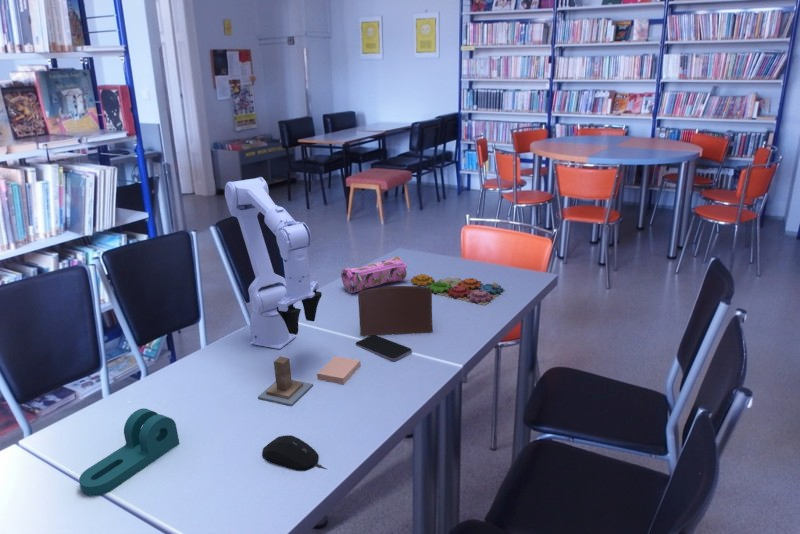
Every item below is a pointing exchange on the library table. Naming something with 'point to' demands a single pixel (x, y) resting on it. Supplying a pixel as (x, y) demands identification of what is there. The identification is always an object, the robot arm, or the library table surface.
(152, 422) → the bracket
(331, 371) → the tile
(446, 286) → the gear puzzle
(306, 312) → the robot arm
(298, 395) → the mat
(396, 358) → the smartphone
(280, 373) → the stamp
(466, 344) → the library table surface
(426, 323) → the letter holder
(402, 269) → the pencil case
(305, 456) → the gaming mouse
